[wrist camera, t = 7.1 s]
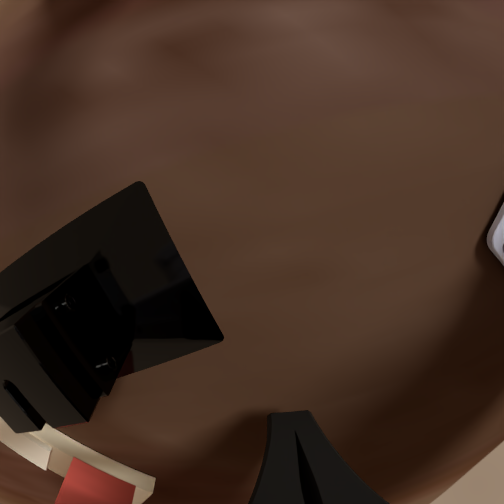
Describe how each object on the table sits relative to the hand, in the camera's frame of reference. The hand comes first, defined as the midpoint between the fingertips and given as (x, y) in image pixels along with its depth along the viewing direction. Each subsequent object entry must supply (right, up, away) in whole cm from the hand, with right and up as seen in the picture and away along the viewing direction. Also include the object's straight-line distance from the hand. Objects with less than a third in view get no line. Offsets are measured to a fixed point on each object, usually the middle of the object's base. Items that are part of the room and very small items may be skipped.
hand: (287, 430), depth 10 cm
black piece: (-7, +4, +1) cm, 8 cm away
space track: (-15, -1, +1) cm, 15 cm away
